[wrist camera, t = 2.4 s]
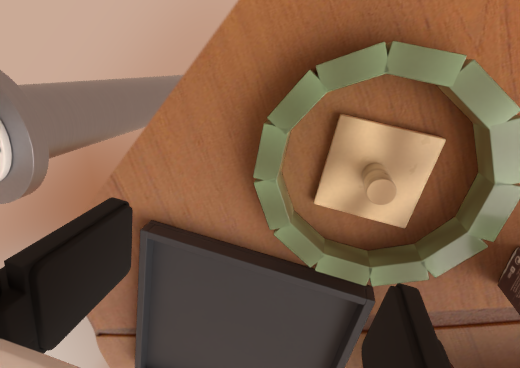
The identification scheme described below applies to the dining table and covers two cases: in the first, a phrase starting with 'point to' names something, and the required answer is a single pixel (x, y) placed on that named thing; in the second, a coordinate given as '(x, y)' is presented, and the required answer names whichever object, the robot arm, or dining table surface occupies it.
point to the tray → (239, 307)
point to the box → (512, 280)
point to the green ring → (475, 203)
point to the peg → (376, 170)
